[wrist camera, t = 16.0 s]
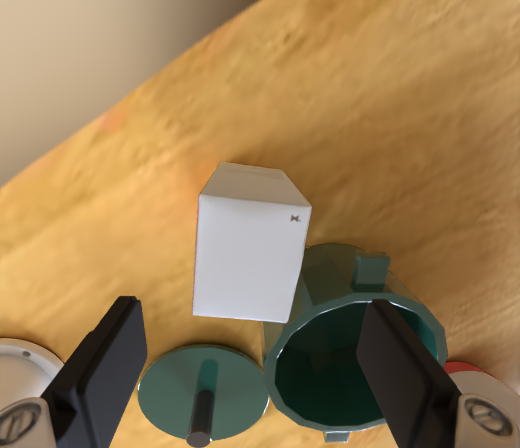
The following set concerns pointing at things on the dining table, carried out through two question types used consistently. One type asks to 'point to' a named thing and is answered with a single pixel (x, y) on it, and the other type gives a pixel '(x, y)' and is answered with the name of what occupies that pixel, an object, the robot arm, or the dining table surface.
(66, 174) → the dining table surface
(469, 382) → the citrus juicer
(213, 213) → the small box
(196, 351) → the lid
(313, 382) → the pot
